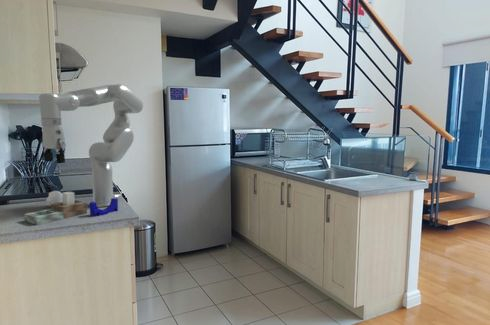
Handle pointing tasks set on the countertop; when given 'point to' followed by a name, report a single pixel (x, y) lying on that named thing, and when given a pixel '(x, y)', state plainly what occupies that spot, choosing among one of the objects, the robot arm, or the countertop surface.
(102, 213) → the blue curved block
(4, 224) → the countertop surface
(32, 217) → the socket block
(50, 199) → the white round lump
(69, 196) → the peg
